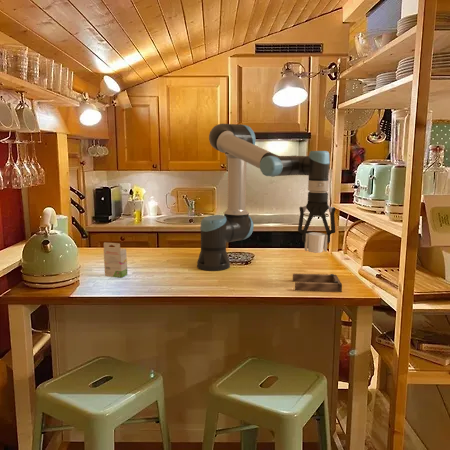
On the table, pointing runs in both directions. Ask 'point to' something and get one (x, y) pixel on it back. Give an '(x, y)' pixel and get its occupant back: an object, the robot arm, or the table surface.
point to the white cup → (316, 242)
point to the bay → (309, 283)
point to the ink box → (115, 260)
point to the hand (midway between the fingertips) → (315, 250)
